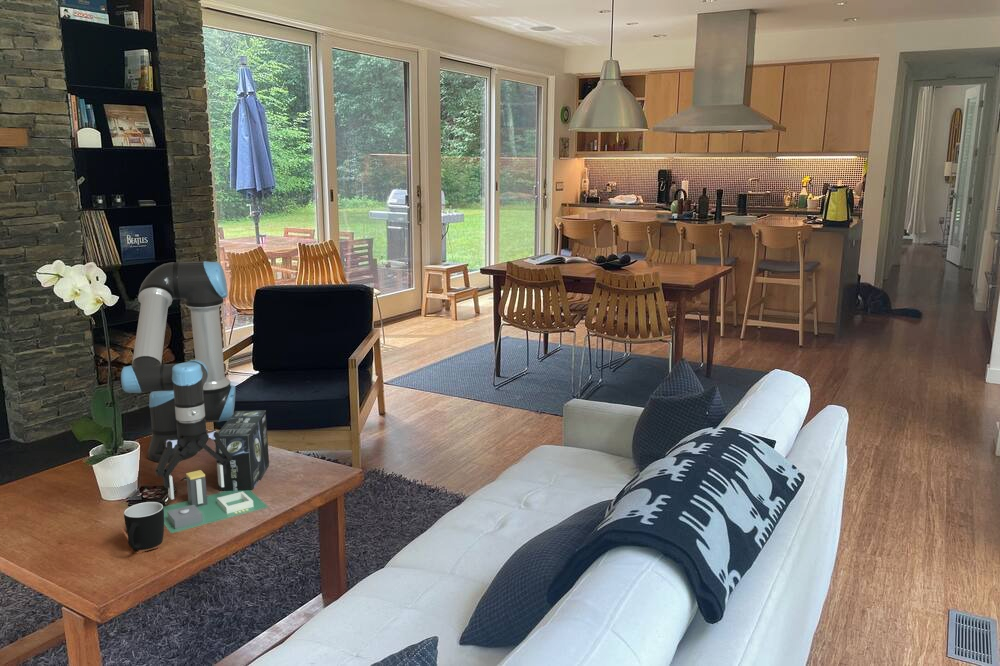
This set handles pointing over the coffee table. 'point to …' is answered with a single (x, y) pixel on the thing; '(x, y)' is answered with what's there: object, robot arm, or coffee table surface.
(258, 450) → the box
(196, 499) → the plug
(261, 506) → the board
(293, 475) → the coffee table surface
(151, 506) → the mug
